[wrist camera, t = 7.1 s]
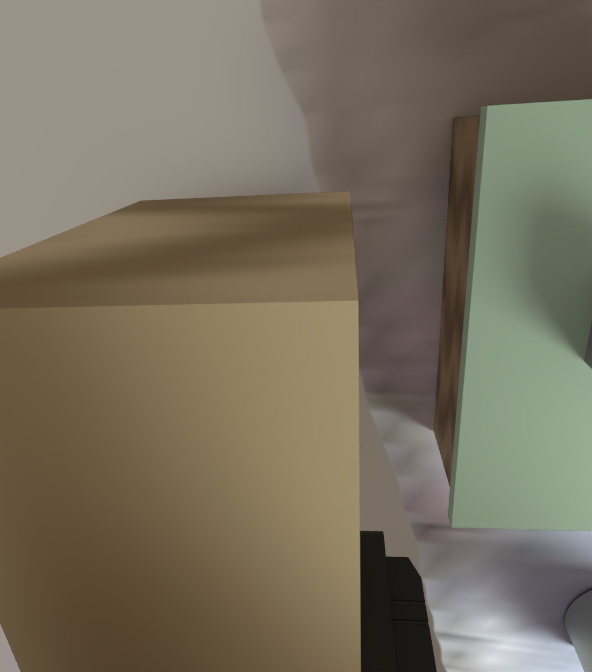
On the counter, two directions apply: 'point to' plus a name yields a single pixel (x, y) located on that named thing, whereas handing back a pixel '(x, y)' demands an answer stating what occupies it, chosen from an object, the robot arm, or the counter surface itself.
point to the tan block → (183, 440)
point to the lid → (527, 325)
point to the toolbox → (455, 280)
